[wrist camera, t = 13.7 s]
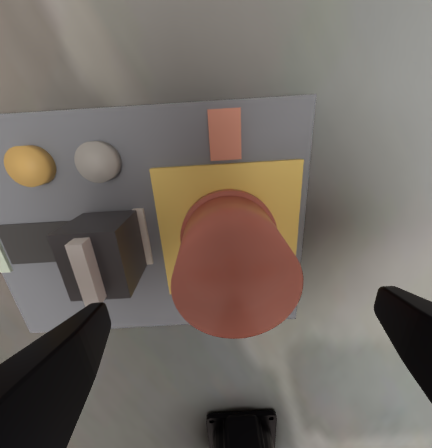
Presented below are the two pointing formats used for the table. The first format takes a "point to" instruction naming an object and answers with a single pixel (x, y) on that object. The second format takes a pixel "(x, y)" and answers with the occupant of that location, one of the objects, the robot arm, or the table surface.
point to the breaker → (99, 255)
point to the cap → (234, 267)
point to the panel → (142, 187)
